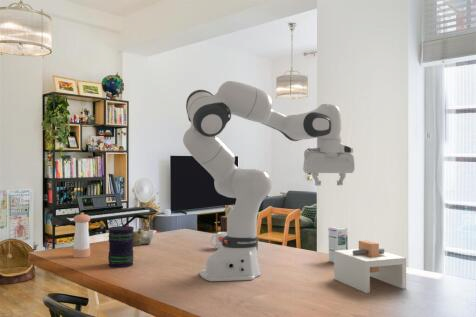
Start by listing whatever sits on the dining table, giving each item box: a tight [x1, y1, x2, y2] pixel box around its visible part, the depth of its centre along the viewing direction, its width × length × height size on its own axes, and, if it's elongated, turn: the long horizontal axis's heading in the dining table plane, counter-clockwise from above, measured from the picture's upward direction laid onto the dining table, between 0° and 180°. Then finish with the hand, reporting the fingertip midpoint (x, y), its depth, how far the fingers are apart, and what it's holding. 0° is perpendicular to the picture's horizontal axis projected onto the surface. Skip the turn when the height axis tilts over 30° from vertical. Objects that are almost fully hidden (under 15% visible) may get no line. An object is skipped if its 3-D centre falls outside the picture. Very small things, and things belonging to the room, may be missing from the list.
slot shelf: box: [333, 247, 407, 294], centre depth 144 cm, size 16×18×12 cm
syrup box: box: [328, 226, 349, 264], centre depth 178 cm, size 6×6×14 cm
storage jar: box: [107, 225, 135, 269], centre depth 169 cm, size 10×10×15 cm
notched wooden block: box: [358, 239, 380, 273], centre depth 144 cm, size 3×7×10 cm, turn 20°
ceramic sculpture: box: [133, 228, 154, 246], centre depth 213 cm, size 11×9×15 cm
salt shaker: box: [72, 212, 91, 259], centre depth 185 cm, size 7×7×19 cm
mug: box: [210, 231, 227, 250], centre depth 205 cm, size 12×8×8 cm
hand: (329, 185), depth 156 cm, fingers open, 8 cm apart
